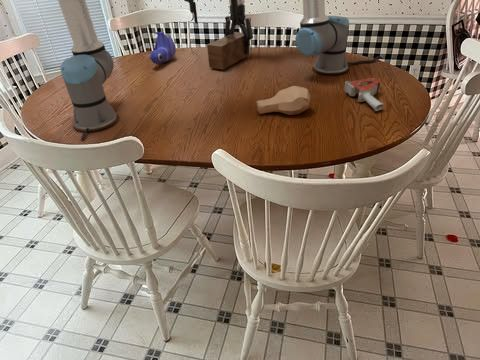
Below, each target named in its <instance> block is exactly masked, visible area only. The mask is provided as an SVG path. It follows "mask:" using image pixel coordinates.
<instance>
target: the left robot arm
mask: <svg viewBox="0 0 480 360" xmlns="http://www.w3.org/2000/svg"><path fill="white" fill-rule="evenodd" d="M183 1H184V2H187V3H188V5H189V12H190V13H191V14H193V19H194V23H195V24H199V22H198V13H197V3H196V1H195V0H183ZM57 2H58V5H59V8H60V10H61V13H62V15H63V18H64V21H65V23H66V26H67V29H68V31H69V34H70V35H69V36H70V37H71V40H72V43H73V45H72V47H71V53H72V56H70V57H67V58H65V59H64V60H63V61H62V62H61V64H60V66H59V68H60V72H61V73H60V74H61V77H62V79H63V82H64V84H65V87H66V90H67V93H68V96H69V99H70V101H71V104H72V108H73V114H72V117H73V118H72V119H73V125H74V128H75V129H76V131H78V132H83V134H82V136H81V138H80V140H81V141H83V140H85V137H86V135H87V133H92V132H99V131H102V130H105V129H107V128H110V127H111V126H113V125H115V124H116V122H117V121H118V116H117V113H116V111H115V110H114V108H113V107H112V105H111V103H110V102H109V101H108V99H107V96H106V92H105V89H104V87H103V86H104V84H105V83H106V81H107V80H108V79H109V78H110V76H111V75H112V73H113V70H114V66H115V65H114V59H113V57H112V55H111V53H110V52H109V51H108V50H106V46H105V43H104V42H103V41H101V40H100V39H99V38H98V36H97V31H96V29H95V26H94V23H93V19H92V16H91V12H90V10H89V8H88V4H87V1H86V0H57ZM237 7H238V3H237V0H231V12H232V18H233V19H236V17H235V8H237Z"/></svg>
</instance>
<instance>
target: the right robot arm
mask: <svg viewBox="0 0 480 360" xmlns="http://www.w3.org/2000/svg"><path fill="white" fill-rule="evenodd" d="M245 1H246V0H237V3H238V7H237V8H235V17H236V19H233V18H232V12H231V0H228V4H229V14H230V15H226V16H225V17H224V20H225V26H224V27H225V29H224V31H225V32H224V37H225V36H227V35H230V34H232V33H234V32H235V30H236V26H239V28H240V29H241V33H243V34H244V37H245V39H246V40H245V41H244V44H245V54H247V53H249V54H250V46H251V40H253V39H254V34H253V28H252V24H251V21H252V18H251V17H247V16H246V15H245V14H246V5H245V3H246V2H245ZM302 15H303V16H302V19H301V20H300V21H299V28H300V29H299V30H298V31H297V33H296V34H295V38H294V39H295V46H296V48H297V50H298V51H299V52H300V53H301V54H302V55H303V56H305V57H308V58H309V57H313V56H316V60H315V61H314V62H313V71H314V72H316V73H317V74H320V75H324V76H325V75H326V76H339V75H343V74H345V73H347V72H348V68H349V65H350V66H351V65H357V64H364V63H374V62H376V61H377V60H378V59H380V60H383V57H382V56H381V55H377V56H376V57H375V58H373V59H368V60H367V59H366V60H357V61H353V62H350V61H349V62H348V58H347V53H346V51H347V45H348V44H347V42H348V37H349V36H348V35H349V29H350V26H349V25H350V19H349V18H348V17H345V16H341V15H340V16H339V15H326V1H325V0H302Z"/></svg>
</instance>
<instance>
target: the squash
mask: <svg viewBox="0 0 480 360" xmlns="http://www.w3.org/2000/svg"><path fill="white" fill-rule="evenodd" d="M311 98H312V97H311V95H310V90H309V89H307V88H306V87H302V86H298V85H292V86H289V87H287V88H283V89H280V90H279V91H277V92H276V94H275V95H274V96H272V97H271V98H265V99H257V100H256V102H255V103H256V107H257V109H256V110H257V113H258V114H259V115H263V114H266V113H273V112H275V113H282V114H284V115H287V116H295V115H300V114H301V113H303V112H305V111H306V110H308V109H309V107H310V102H311Z"/></svg>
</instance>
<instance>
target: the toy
mask: <svg viewBox="0 0 480 360" xmlns="http://www.w3.org/2000/svg"><path fill="white" fill-rule="evenodd" d="M153 34H154V35H157V36H156V38H155V42H154V50H152V51H150V53H149V56H148V58H149V60H150V61H151V62H152V63H153V64H155V65H156V68H157V69H159V67H160V64H163V63H166V62H169V61H170V60H172V59H173V58H174V57H175V55H176V51H177V49H176V44H175V42H174V40H173V38H172V37H171V36H170V35H168V36H167V35H166V34H165V33H164V32H163V31H160V32H159V31H155V32H154V33H153Z"/></svg>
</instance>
